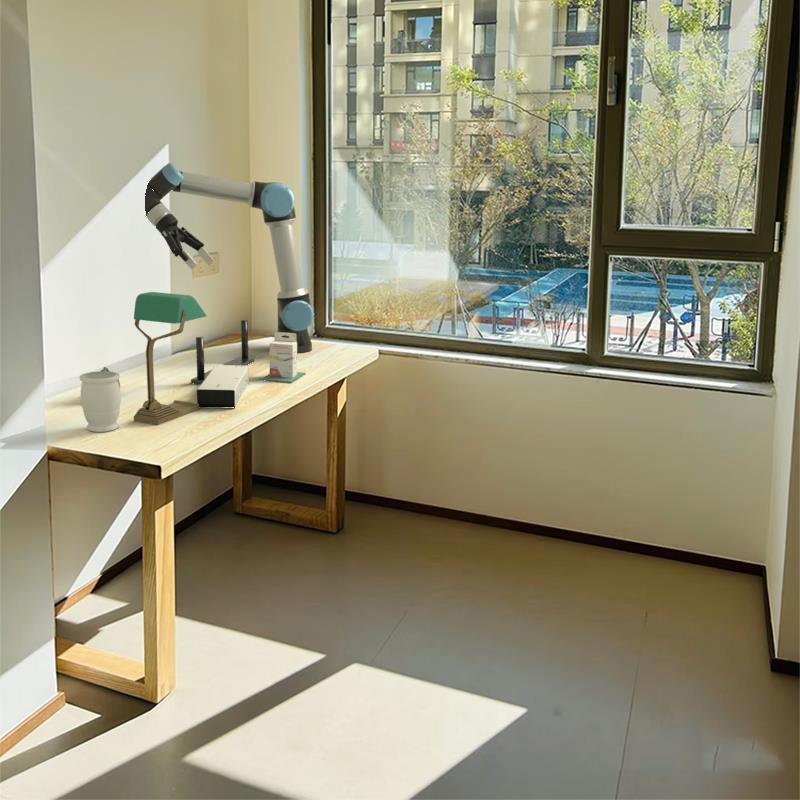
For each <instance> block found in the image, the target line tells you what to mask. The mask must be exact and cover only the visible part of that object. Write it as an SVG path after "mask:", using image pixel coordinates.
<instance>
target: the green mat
mask: <svg viewBox="0 0 800 800" xmlns="http://www.w3.org/2000/svg"><path fill="white" fill-rule="evenodd" d="M303 375H304V376H306V372H302V371H301V372H300V371H297V375H296V376H295V377H293V378H286V377H275V376H270V373H268V374H266V375H265V376H263V377H261V378H260V381H261V380H265V381H264V382H271V381H278V382H277V383H283V382H287V383H286V384H292V383H294V382H296V381H297V380H299V379H300V377H301V378H303ZM295 380H296V381H295Z"/></svg>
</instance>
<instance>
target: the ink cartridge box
mask: <svg viewBox="0 0 800 800" xmlns="http://www.w3.org/2000/svg"><path fill="white" fill-rule="evenodd" d="M284 335H286V336H289V338H283V337H281V336H284ZM273 337H274V340H272V341H271V342H269V374H270V376H275V377H286V378H293V377H295V376H296V375H297V372H298V353H297V341H296V334H295V333H283V332H277V331H274V333H273Z"/></svg>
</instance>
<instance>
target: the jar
mask: <svg viewBox="0 0 800 800" xmlns="http://www.w3.org/2000/svg"><path fill="white" fill-rule="evenodd" d="M109 371H110V370H109ZM109 371H101V370H99V371H91V372H89V371H88V372H85V373H82V374H80V375H79V381H81V386H80V404H81V408H82V412H83V416H84V418H85V421H86V422H87V423H88V424H87V425H86V430H87V431H89V432H94V433H106V432H107V433H108V432H111V431H115V430H117V429H118V428H119V424H118V422H117V421H118V418H119V416H120V412H121V411H120V409H121V403H122V401H121V400H122V399H121V398H122V397H121V396H122V394H121V385H120V386H119V383H120V382H119V383H118V379H119V380H120V373H119V372H116V371H111V372H109Z"/></svg>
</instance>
